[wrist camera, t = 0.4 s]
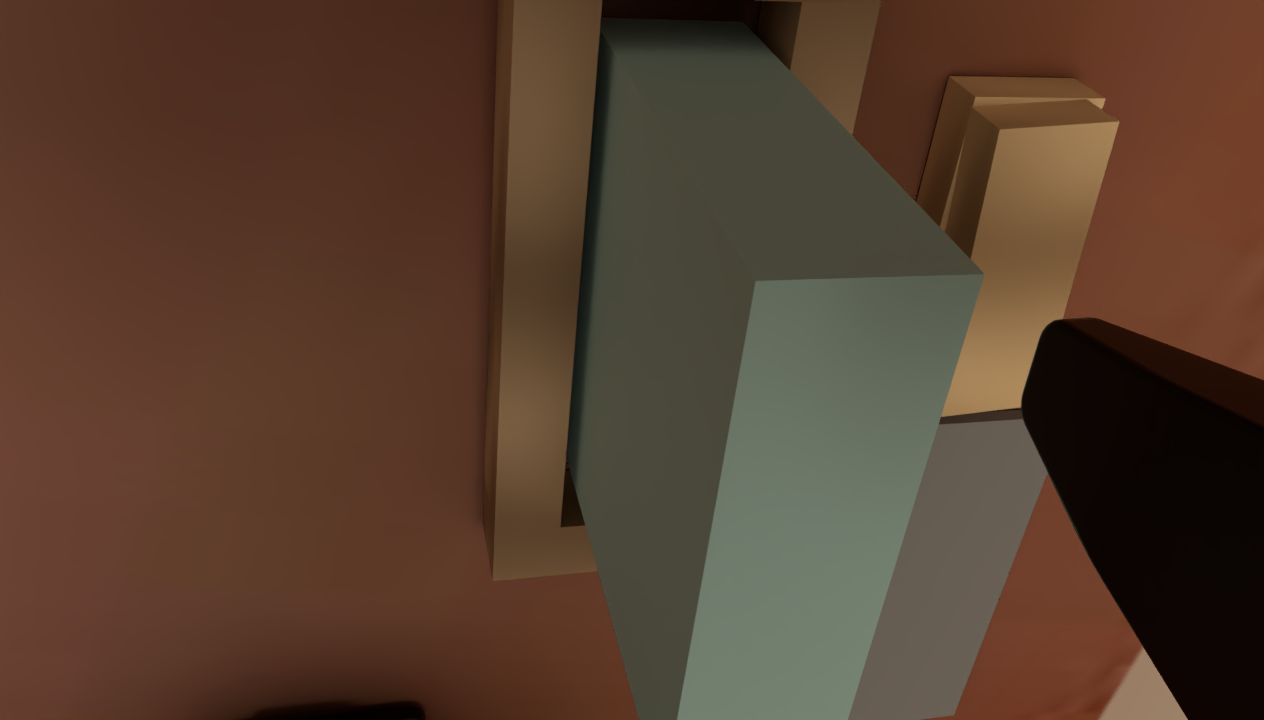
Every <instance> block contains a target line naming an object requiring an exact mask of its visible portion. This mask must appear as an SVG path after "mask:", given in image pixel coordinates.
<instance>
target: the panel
mask: <svg viewBox="0 0 1264 720" xmlns="http://www.w3.org/2000/svg"><path fill="white" fill-rule="evenodd" d="M984 275H985V274H984V273H983V272H982V271H981V270H980V269H979V268H978V266H977V265H976V264H975V263H974V262H973V261H972V260H971V259H970V258H969V257H968V256H967V255H966V254H965V253H964V252H963V251H962V250H961V249H960V248H959V247H958V246H957V245H956V244H955V242H954V241H953V240H952V239H951V238H950V237H949V236H948V235H947V234H946V233H945V232H944V231H943V230H942V229H941V228H940V227H939V226H938V225H937V224H936V223H935V222H934V221H933V220H932V218H931V217H930V216H929V215H928V214H927V213H926V212H925V211H924V210H923V209H922V208H921V207H920V206H919V205H918V204H917V203H916V202H915V201H914V200H913V199H912V198H911V197H910V196H909V194H908V193H907V192H906V191H905V190H904V189H903V188H902V187H901V186H900V185H899V184H898V183H897V182H896V181H895V180H894V179H893V178H892V177H891V176H890V175H889V174H888V173H887V172H886V170H885V169H884V168H883V167H882V166H881V165H880V164H879V163H878V162H877V161H876V160H875V159H874V158H873V157H872V156H871V155H870V154H869V153H868V152H867V151H866V150H865V149H864V148H863V147H862V145H861V144H860V143H859V142H858V141H857V140H856V139H855V138H854V137H853V136H852V135H851V134H850V133H849V132H848V131H847V130H846V129H845V128H844V127H843V126H842V125H841V124H840V123H839V121H838V120H837V119H836V118H835V117H834V116H833V115H832V114H831V113H830V112H829V111H828V110H827V109H826V108H825V107H824V106H823V105H822V104H821V103H820V102H819V101H818V100H817V99H816V97H815V96H814V95H813V94H812V93H811V92H810V91H809V90H808V89H807V88H806V87H805V86H804V85H803V84H802V83H801V82H800V81H799V80H798V79H797V78H796V77H795V76H794V75H793V73H792V72H791V71H790V70H789V69H788V68H787V67H786V66H785V65H784V64H783V63H782V62H781V61H780V60H779V59H778V58H777V57H776V56H775V55H774V54H773V53H772V52H771V51H770V49H769V48H768V47H767V46H766V45H765V44H764V43H763V42H762V41H761V40H760V39H759V38H758V37H757V36H756V35H755V34H754V33H753V32H752V31H751V30H750V29H749V28H748V27H747V25H746V24H745V23H744V22H734V21H699V20H663V19H627V18H601V24H600V36H599V49H598V62H597V74H596V87H595V99H594V112H593V124H592V137H591V149H590V162H589V174H588V187H587V200H586V212H585V225H584V237H583V250H582V262H581V275H580V287H579V300H578V312H577V325H576V338H575V350H574V363H573V375H572V388H571V400H570V413H569V425H568V438H567V450H566V457H567V461H568V465H569V468H570V472H571V476H572V479H573V483H574V486H575V490H576V494H577V497H578V501H579V504H580V508H581V512H582V515H583V519H584V522H585V526H586V530H587V533H588V537H589V540H590V544H591V548H592V551H593V555H594V559H595V562H596V566H597V569H598V573H599V577H600V580H601V584H602V587H603V591H604V595H605V598H606V602H607V605H608V609H609V613H610V616H611V620H612V624H613V627H614V631H615V634H616V638H617V642H618V645H619V649H620V652H621V656H622V660H623V663H624V667H625V670H626V674H627V678H628V681H629V685H630V688H631V692H632V696H633V699H634V703H635V707H636V710H637V714H638V717H639V720H848V717H849V714H850V711H851V708H852V704H853V701H854V698H855V695H856V691H857V688H858V685H859V682H860V678H861V675H862V672H863V669H864V665H865V662H866V659H867V656H868V652H869V649H870V646H871V643H872V639H873V636H874V633H875V630H876V626H877V623H878V620H879V617H880V613H881V610H882V607H883V604H884V600H885V597H886V594H887V591H888V587H889V584H890V581H891V578H892V574H893V571H894V568H895V564H896V561H897V558H898V555H899V551H900V548H901V545H902V542H903V538H904V535H905V532H906V529H907V525H908V522H909V519H910V516H911V512H912V509H913V506H914V503H915V499H916V496H917V493H918V490H919V486H920V483H921V480H922V477H923V473H924V470H925V467H926V464H927V460H928V457H929V454H930V451H931V447H932V444H933V441H934V438H935V434H936V431H937V428H938V425H939V421H940V418H941V415H942V412H943V408H944V405H945V402H946V399H947V395H948V392H949V389H950V386H951V382H952V379H953V376H954V373H955V369H956V366H957V363H958V360H959V356H960V353H961V350H962V347H963V343H964V340H965V337H966V334H967V330H968V327H969V324H970V321H971V317H972V314H973V311H974V308H975V304H976V301H977V298H978V295H979V291H980V288H981V285H982V282H983V278H984Z"/></svg>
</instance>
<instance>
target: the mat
mask: <svg viewBox="0 0 1264 720" xmlns="http://www.w3.org/2000/svg"><path fill="white" fill-rule="evenodd" d="M1047 473H1048V472H1047V470H1046V468H1045V466H1044V464H1043V462H1042V460H1041V458H1040V456H1039V453H1038V451H1037V449H1036V447H1035V445H1034V443H1033V441H1032V439H1031V437H1030V435H1029V433H1028V431H1027V428H1026V426H1025V424H1024V421H1023V417H1022V412H1021V410H1009V411H993V412H978V413H969V414H961V415H953V416H945V417H941V418H940V421H939V425H938V428H937V431H936V434H935V438H934V441H933V444H932V447H931V451H930V454H929V457H928V460H927V464H926V467H925V470H924V473H923V477H922V480H921V483H920V486H919V490H918V493H917V496H916V499H915V503H914V506H913V509H912V512H911V516H910V519H909V522H908V525H907V529H906V532H905V535H904V538H903V542H902V545H901V548H900V551H899V555H898V558H897V561H896V564H895V568H894V571H893V574H892V578H891V581H890V584H889V587H888V591H887V594H886V597H885V600H884V604H883V607H882V610H881V613H880V617H879V620H878V623H877V626H876V630H875V633H874V636H873V639H872V643H871V646H870V649H869V652H868V656H867V659H866V662H865V665H864V669H863V672H862V675H861V678H860V682H859V685H858V688H857V691H856V695H855V698H854V701H853V704H852V708H851V711H850V714H849V717H848V720H921V719H929V718H936V717H944V716H951V715H954V714H955V711H956V708H957V706H958V703H959V701H960V698H961V696H962V693H963V690H964V688H965V685H966V683H967V680H968V677H969V675H970V672H971V670H972V667H973V664H974V662H975V659H976V657H977V654H978V651H979V649H980V646H981V644H982V641H983V639H984V636H985V633H986V631H987V628H988V626H989V623H990V620H991V618H992V615H993V613H994V610H995V607H996V605H997V602H998V600H999V597H1000V594H1001V592H1002V589H1003V587H1004V584H1005V581H1006V579H1007V576H1008V574H1009V571H1010V569H1011V566H1012V563H1013V561H1014V558H1015V556H1016V553H1017V550H1018V548H1019V545H1020V543H1021V540H1022V537H1023V535H1024V532H1025V530H1026V527H1027V524H1028V522H1029V519H1030V517H1031V514H1032V512H1033V509H1034V506H1035V504H1036V501H1037V499H1038V496H1039V493H1040V491H1041V488H1042V486H1043V483H1044V480H1045V478H1046V475H1047Z"/></svg>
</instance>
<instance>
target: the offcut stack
mask: <svg viewBox="0 0 1264 720" xmlns="http://www.w3.org/2000/svg"><path fill="white" fill-rule="evenodd" d="M1105 99H1106V98H1104V97H1103V96H1101V95H1099V94H1098V93H1096V92H1095V91H1093V90H1092V89H1090V88H1089V87H1087V86H1086V85H1084V84H1083V83H1081V82H1080V81H1078V80H1077V79H1075V78H1040V77H981V76H949V78H948V81H947V85H946V89H945V93H944V97H943V101H942V105H941V108H940V112H939V116H938V120H937V124H936V128H935V132H934V136H933V139H932V143H931V147H930V151H929V155H928V159H927V163H926V167H925V170H924V174H923V178H922V182H921V186H920V190H919V194H918V198H917V201H916V203H917V204H918V205H919V206H920V207H921V208H922V209H923V210H924V211H925V212H926V213H927V214H928V215H929V216H930V217H931V218H932V220H933V221H934V222H935V223H936V224H937V225H938V226H939V227H940V228H941V229H942V230H943V231H944V232H945V233H946V234H947V235H948V236H949V237H950V238H951V239H952V240H953V241H954V242H955V244H956V245H957V246H958V247H959V248H960V249H961V250H962V251H963V252H964V253H965V254H966V255H967V256H968V257H969V258H970V259H971V260H972V261H973V262H974V263H975V264H976V265H977V266H978V268H979V269H980V270H981V271H982V272H983V273H984V274H985V275H984V278H983V282H982V285H981V288H980V291H979V295H978V298H977V301H976V304H975V308H974V311H973V314H972V317H971V321H970V324H969V327H968V330H967V334H966V337H965V340H964V343H963V347H962V350H961V353H960V356H959V360H958V363H957V366H956V369H955V373H954V376H953V379H952V382H951V386H950V389H949V392H948V395H947V399H946V402H945V405H944V408H943V412H942V415H941V417H945V416H953V415H961V414H969V413H978V412H986V411H994V410H1002V409H1010V408H1019V407H1021V398H1022V393H1023V390H1024V387H1025V383H1026V380H1027V377H1028V374H1029V370H1030V367H1031V364H1032V361H1033V357H1034V354H1035V351H1036V348H1037V344H1038V341H1039V338H1040V335H1041V333H1042V331H1043V330H1044V328H1045V327H1046V326H1047V325H1048V324H1049V323H1051V322H1052V321H1054V320H1059V319H1063V315H1064V312H1065V308H1066V305H1067V302H1068V298H1069V295H1070V291H1071V288H1072V284H1073V281H1074V277H1075V274H1076V270H1077V267H1078V263H1079V260H1080V257H1081V253H1082V250H1083V246H1084V243H1085V239H1086V236H1087V232H1088V229H1089V225H1090V222H1091V218H1092V215H1093V211H1094V208H1095V205H1096V201H1097V198H1098V194H1099V191H1100V187H1101V184H1102V180H1103V177H1104V173H1105V170H1106V166H1107V163H1108V160H1109V156H1110V153H1111V149H1112V146H1113V142H1114V139H1115V135H1116V132H1117V128H1118V125H1119V121H1118V120H1117V119H1115V118H1114V117H1112V116H1111V115H1109V114H1108V113H1106V112H1105V111H1103V110H1102V107H1103V105H1104V102H1105Z"/></svg>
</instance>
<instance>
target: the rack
mask: <svg viewBox="0 0 1264 720" xmlns="http://www.w3.org/2000/svg"><path fill="white" fill-rule="evenodd" d="M756 1H762V2H761V9H760V15H759V21H758V28H757V34H756V36H757V37H758V38H759V39H760V40H761V41H762V42H763V43H764V44H765V45H766V46H767V47H768V48H769V49H770V51H771V52H772V53H773V54H774V55H775V56H776V57H777V58H778V59H779V60H780V61H781V62H782V63H783V64H784V65H785V66H786V67H787V68H788V69H789V70H790V71H791V72H792V73H793V75H794V76H795V77H796V78H797V79H798V80H799V81H800V82H801V83H802V84H803V85H804V86H805V87H806V88H807V89H808V90H809V91H810V92H811V93H812V94H813V95H814V96H815V97H816V99H817V100H818V101H819V102H820V103H821V104H822V105H823V106H824V107H825V108H826V109H827V110H828V111H829V112H830V113H831V114H832V115H833V116H834V117H835V118H836V119H837V120H838V121H839V123H840V124H841V125H842V126H843V127H844V128H845V129H846V130H847V131H848V132H849V133H850V134H851V135H852V134H853V130H854V125H855V120H856V116H857V111H858V107H859V102H860V97H861V93H862V88H863V83H864V79H865V74H866V69H867V65H868V60H869V56H870V51H871V46H872V42H873V37H874V32H875V28H876V23H877V18H878V14H879V9H880V5H881V0H756ZM601 11H602V0H498V20H497V54H496V89H495V124H494V159H493V193H492V228H491V263H490V297H489V332H488V367H487V401H486V436H485V471H484V506H483V526H484V532H485V538H486V544H487V550H488V556H489V562H490V568H491V574H492V580H493V581H499V580H510V579H521V578H532V577H543V576H554V575H565V574H576V573H587V572H598V569H597V566H596V562H595V559H594V555H593V551H592V548H591V544H590V540H589V537H588V533H587V530H586V526H585V522H584V519H583V515H582V512H581V508H580V504H579V501H578V497H577V494H576V490H575V486H574V483H573V479H572V476H571V472H570V470H565V463H566V450H567V438H568V425H569V413H570V400H571V388H572V375H573V363H574V350H575V338H576V325H577V312H578V300H579V287H580V275H581V262H582V250H583V237H584V225H585V212H586V200H587V187H588V174H589V162H590V149H591V137H592V124H593V112H594V99H595V87H596V74H597V62H598V49H599V36H600V24H601Z"/></svg>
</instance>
